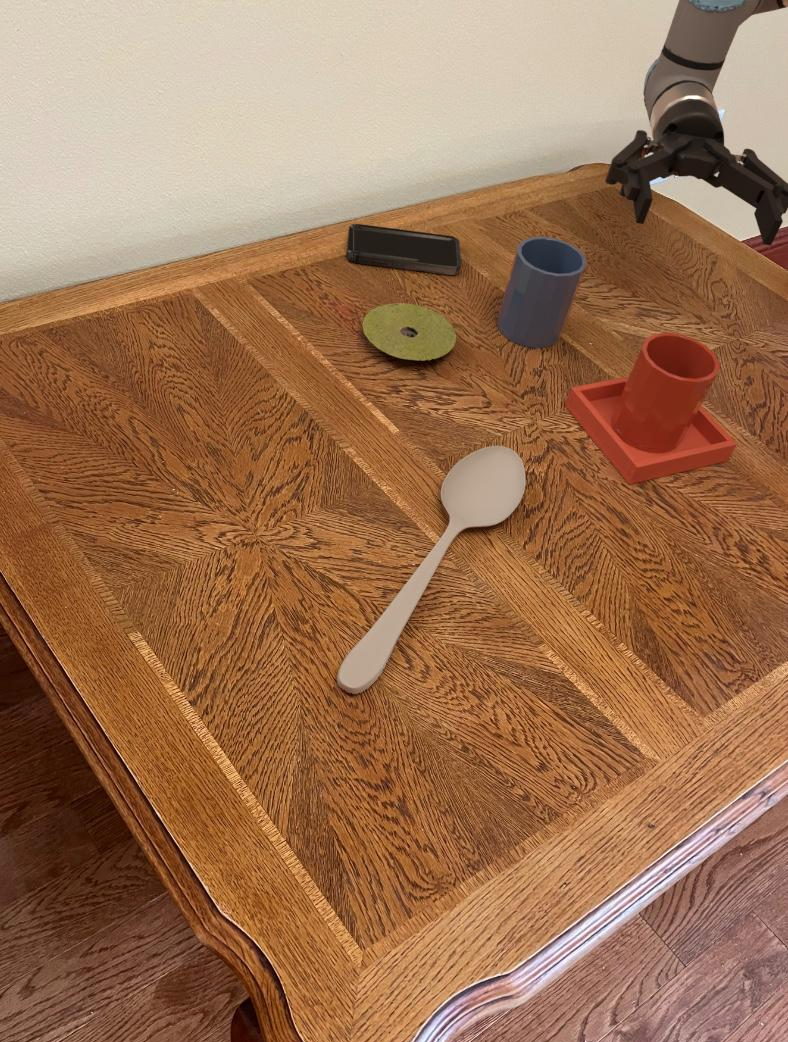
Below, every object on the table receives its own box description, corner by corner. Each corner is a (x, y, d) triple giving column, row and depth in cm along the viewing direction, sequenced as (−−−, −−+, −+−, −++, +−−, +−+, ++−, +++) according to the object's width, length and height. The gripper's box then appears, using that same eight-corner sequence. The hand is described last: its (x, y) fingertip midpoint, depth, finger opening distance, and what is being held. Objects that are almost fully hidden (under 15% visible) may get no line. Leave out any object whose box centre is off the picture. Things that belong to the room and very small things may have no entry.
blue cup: (574, 335, 118) (600, 264, 110) (529, 355, 114) (553, 283, 106) (528, 301, 121) (551, 230, 114) (483, 320, 118) (503, 247, 110)
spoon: (471, 450, 102) (475, 431, 100) (538, 479, 100) (544, 461, 98) (304, 681, 82) (305, 664, 80) (383, 723, 80) (387, 707, 78)
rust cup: (695, 445, 106) (735, 374, 98) (636, 459, 103) (672, 386, 96) (654, 400, 110) (688, 328, 103) (597, 411, 108) (627, 338, 100)
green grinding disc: (358, 312, 116) (360, 298, 114) (447, 319, 117) (450, 305, 115) (363, 369, 109) (365, 355, 107) (458, 376, 110) (461, 362, 108)
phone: (349, 222, 126) (459, 236, 127) (348, 230, 127) (457, 244, 128) (347, 254, 121) (461, 268, 122) (346, 262, 122) (459, 276, 123)
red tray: (727, 461, 106) (737, 444, 104) (628, 485, 101) (637, 467, 99) (658, 386, 113) (666, 368, 111) (564, 405, 109) (570, 387, 107)
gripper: (775, 179, 114) (809, 274, 101) (572, 145, 114) (579, 235, 101) (805, 116, 108) (845, 207, 95) (592, 80, 108) (602, 166, 95)
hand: (708, 222), depth 98 cm, fingers open, 13 cm apart
